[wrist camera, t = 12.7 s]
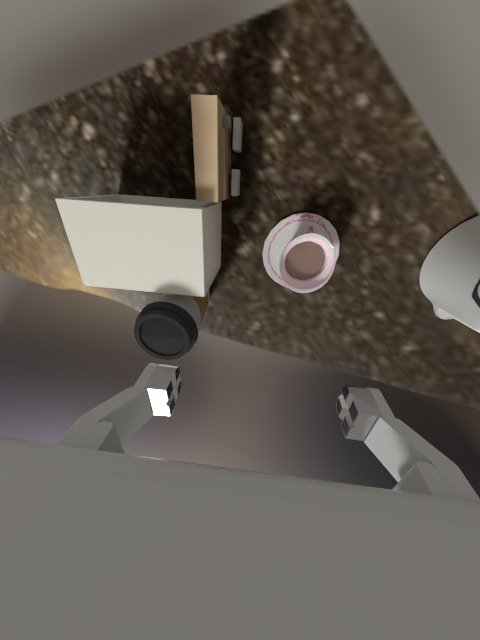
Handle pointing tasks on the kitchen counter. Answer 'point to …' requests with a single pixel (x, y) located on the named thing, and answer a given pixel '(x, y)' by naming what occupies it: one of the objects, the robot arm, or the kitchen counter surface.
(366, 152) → the kitchen counter surface
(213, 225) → the cabinet
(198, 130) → the door
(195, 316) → the coffee cup
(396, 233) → the kitchen counter surface
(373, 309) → the kitchen counter surface
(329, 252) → the teacup
